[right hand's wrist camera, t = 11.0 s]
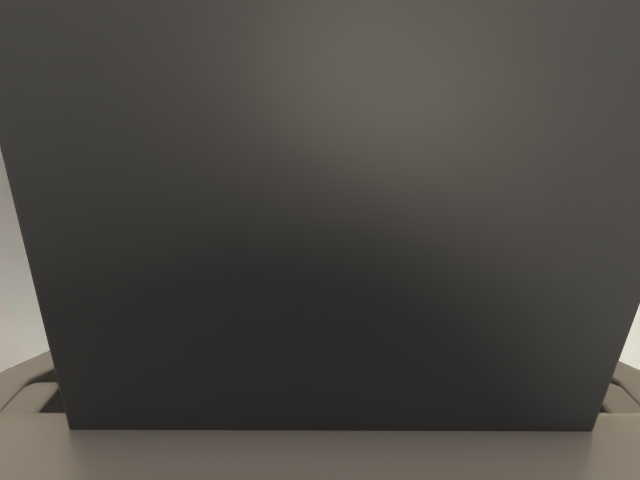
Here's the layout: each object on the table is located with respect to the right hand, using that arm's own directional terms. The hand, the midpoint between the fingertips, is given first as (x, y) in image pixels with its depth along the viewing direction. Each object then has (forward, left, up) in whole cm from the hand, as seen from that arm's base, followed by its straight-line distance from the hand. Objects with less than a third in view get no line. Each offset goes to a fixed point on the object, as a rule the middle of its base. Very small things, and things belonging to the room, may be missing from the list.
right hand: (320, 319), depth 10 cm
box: (+3, +8, -6) cm, 11 cm away
